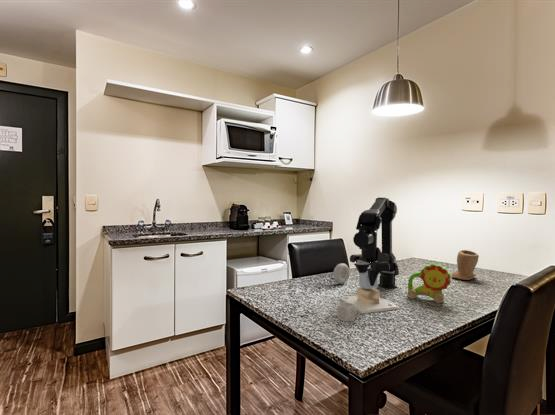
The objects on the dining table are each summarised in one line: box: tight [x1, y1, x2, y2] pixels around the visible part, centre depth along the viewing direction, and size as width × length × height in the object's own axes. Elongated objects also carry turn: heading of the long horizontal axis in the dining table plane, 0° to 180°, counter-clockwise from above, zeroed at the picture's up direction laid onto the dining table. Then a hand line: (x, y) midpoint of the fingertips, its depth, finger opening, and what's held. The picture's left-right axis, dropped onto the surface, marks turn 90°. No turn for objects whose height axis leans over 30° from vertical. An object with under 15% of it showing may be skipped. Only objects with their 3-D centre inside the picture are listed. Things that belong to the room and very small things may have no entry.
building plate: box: [338, 295, 399, 314], centre depth 124 cm, size 16×16×2 cm
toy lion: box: [407, 262, 452, 304], centre depth 130 cm, size 16×5×15 cm, turn 59°
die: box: [336, 302, 358, 323], centre depth 108 cm, size 5×5×5 cm
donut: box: [332, 262, 351, 285], centre depth 153 cm, size 10×4×10 cm, turn 125°
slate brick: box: [358, 272, 379, 289], centre depth 123 cm, size 5×5×5 cm
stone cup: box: [450, 249, 480, 281], centre depth 167 cm, size 15×12×15 cm
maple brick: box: [356, 286, 381, 305], centre depth 124 cm, size 6×6×5 cm
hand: (368, 284), depth 124 cm, fingers closed on slate brick, 5 cm apart
